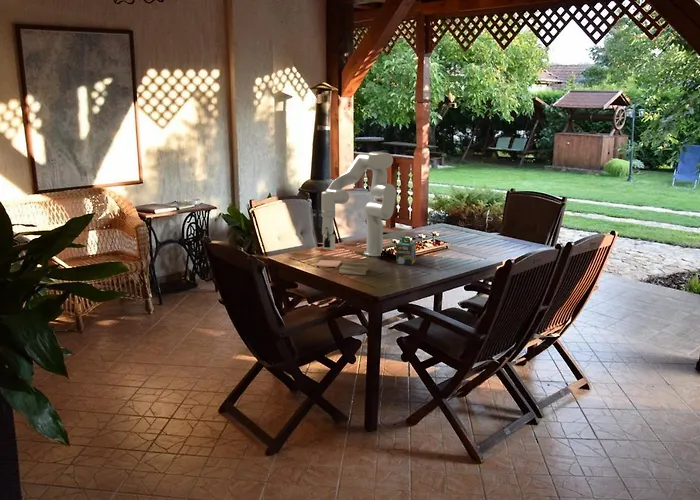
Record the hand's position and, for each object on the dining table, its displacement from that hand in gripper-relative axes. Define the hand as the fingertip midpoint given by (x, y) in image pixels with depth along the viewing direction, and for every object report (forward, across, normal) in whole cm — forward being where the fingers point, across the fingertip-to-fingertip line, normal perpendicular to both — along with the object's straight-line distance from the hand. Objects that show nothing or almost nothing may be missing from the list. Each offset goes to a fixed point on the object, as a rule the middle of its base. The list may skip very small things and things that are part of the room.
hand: (328, 245), depth 359 cm
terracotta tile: (+11, 0, 0) cm, 11 cm away
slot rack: (+11, +12, +16) cm, 23 cm away
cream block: (+1, 0, 0) cm, 1 cm away
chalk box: (+11, -12, +42) cm, 45 cm away
